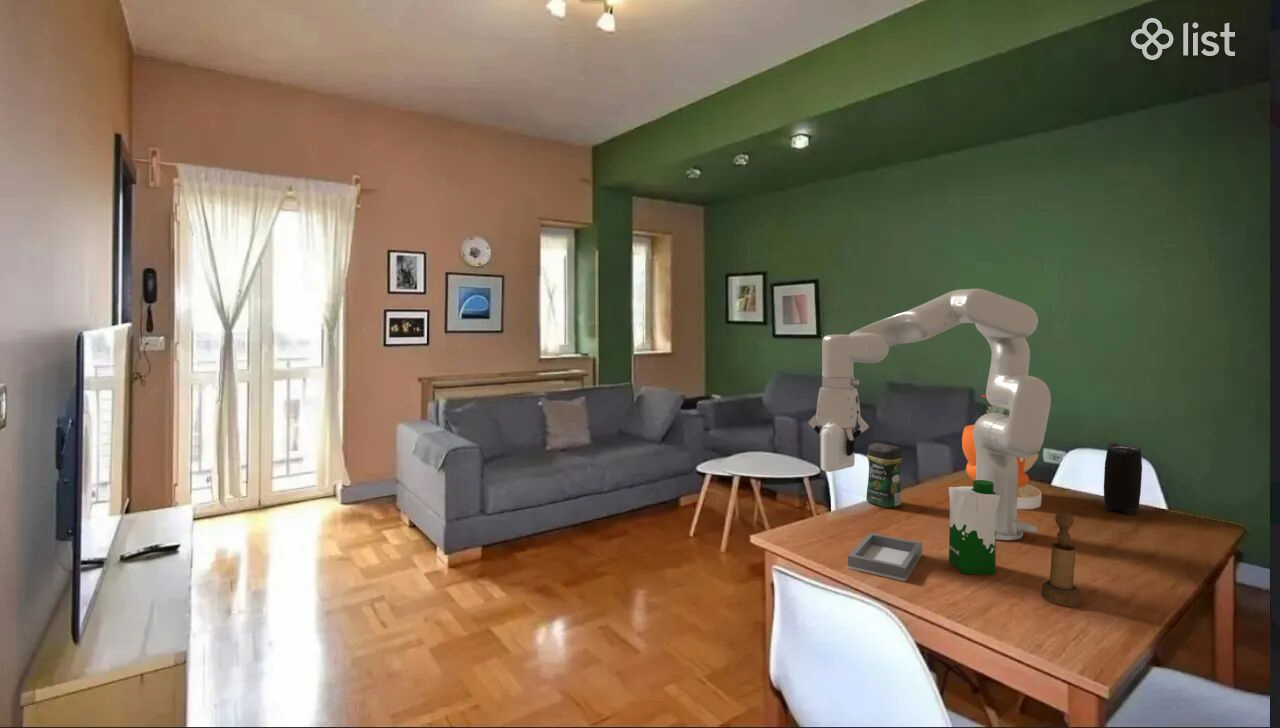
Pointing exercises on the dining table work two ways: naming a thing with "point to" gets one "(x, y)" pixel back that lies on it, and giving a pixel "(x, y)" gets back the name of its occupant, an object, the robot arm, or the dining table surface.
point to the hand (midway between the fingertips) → (837, 452)
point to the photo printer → (834, 448)
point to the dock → (885, 556)
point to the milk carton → (973, 528)
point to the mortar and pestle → (1062, 567)
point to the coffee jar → (884, 475)
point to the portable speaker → (1122, 478)
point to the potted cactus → (1026, 493)
